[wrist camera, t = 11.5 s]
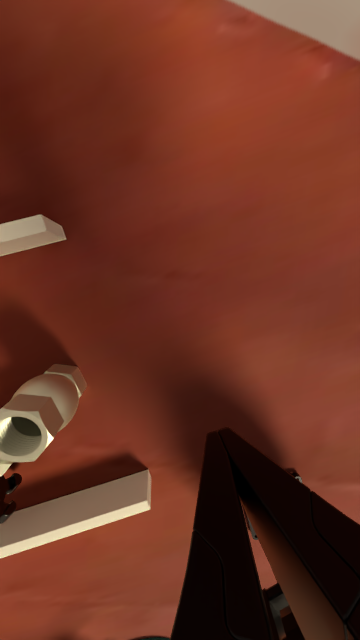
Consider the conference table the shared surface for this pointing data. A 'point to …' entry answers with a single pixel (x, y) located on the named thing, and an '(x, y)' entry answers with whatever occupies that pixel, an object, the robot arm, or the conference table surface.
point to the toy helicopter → (155, 638)
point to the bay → (84, 505)
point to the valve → (35, 421)
